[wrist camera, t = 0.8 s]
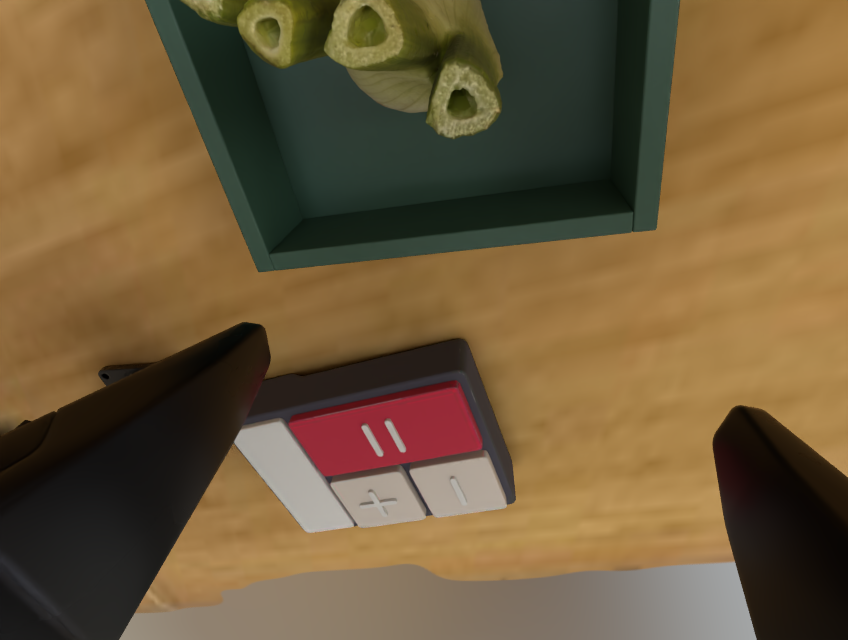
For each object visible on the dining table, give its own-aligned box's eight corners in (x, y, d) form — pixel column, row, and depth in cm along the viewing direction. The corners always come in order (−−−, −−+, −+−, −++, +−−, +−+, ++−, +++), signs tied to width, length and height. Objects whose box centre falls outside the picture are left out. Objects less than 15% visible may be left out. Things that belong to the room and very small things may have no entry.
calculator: (519, 515, 27) (301, 544, 31) (513, 458, 30) (319, 490, 34) (464, 379, 22) (210, 434, 25) (465, 329, 25) (243, 384, 29)
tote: (296, 232, 23) (257, 273, 19) (153, -177, 15) (43, -241, 11) (627, 191, 19) (657, 230, 16) (662, -361, 12) (736, -535, 8)
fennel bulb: (518, 51, 17) (548, 95, 7) (419, 138, 19) (333, 266, 9) (419, -107, 15) (257, -374, 5) (320, 10, 17) (68, -6, 7)
